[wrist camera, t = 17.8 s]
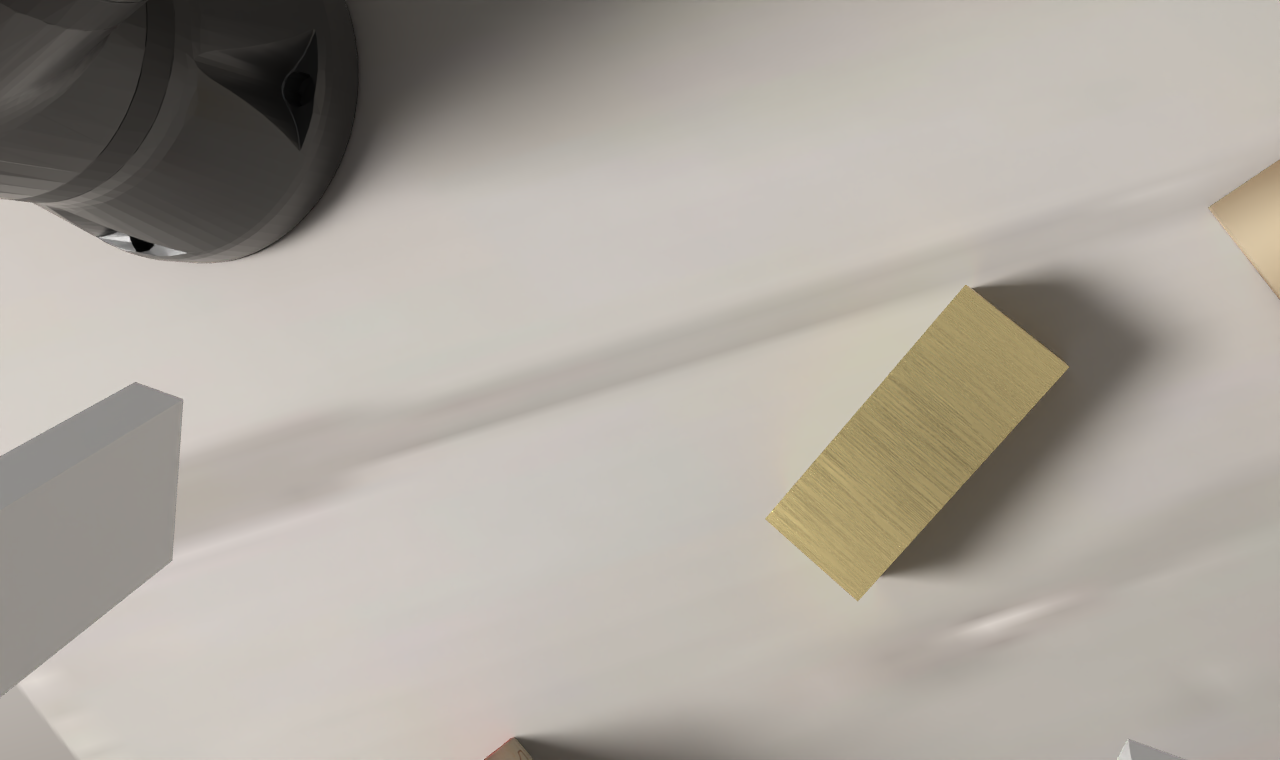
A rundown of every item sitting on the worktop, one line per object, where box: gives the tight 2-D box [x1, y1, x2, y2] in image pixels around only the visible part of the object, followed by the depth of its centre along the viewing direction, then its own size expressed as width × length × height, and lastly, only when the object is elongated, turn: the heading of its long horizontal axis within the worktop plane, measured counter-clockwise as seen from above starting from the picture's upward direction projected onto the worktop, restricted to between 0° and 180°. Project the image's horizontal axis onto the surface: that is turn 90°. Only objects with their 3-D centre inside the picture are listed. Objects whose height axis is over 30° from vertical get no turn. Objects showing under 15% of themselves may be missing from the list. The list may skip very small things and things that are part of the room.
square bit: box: [766, 285, 1069, 601], centre depth 39 cm, size 4×4×10 cm
